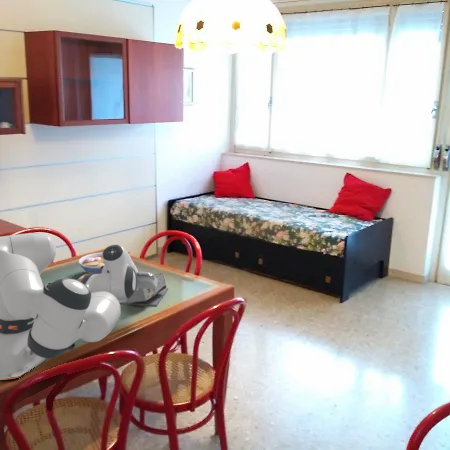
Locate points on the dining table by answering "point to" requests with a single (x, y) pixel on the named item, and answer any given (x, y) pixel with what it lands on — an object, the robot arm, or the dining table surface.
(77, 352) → the dining table surface
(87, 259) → the ramen bowl
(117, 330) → the dining table surface
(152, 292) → the coffee box
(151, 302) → the mat
